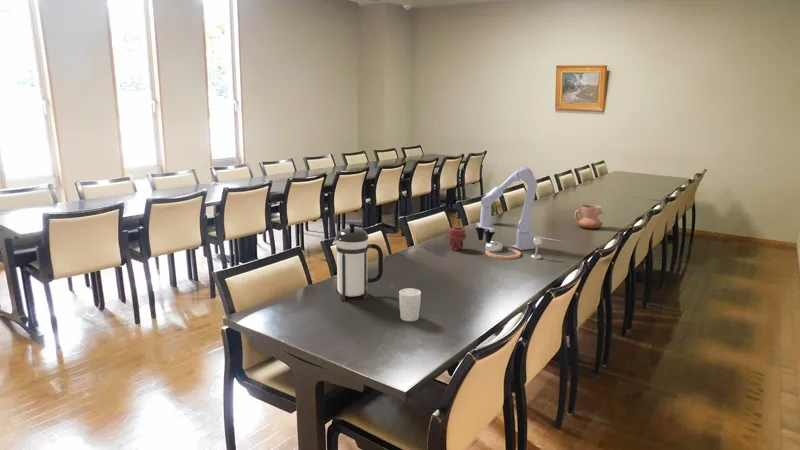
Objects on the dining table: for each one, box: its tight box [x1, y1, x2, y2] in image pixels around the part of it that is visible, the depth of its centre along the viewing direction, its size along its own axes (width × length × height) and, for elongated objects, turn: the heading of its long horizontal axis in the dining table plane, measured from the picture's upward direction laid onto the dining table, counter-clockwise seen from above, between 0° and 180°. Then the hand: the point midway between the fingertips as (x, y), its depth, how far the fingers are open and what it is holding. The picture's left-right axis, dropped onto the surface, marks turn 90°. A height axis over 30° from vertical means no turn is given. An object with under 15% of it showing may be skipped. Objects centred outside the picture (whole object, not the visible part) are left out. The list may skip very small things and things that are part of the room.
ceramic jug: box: [574, 204, 605, 230], centre depth 330 cm, size 18×14×14 cm
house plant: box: [479, 200, 499, 226], centre depth 336 cm, size 14×14×16 cm
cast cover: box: [485, 239, 504, 253], centre depth 276 cm, size 9×9×5 cm
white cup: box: [398, 287, 422, 322], centre depth 186 cm, size 8×8×10 cm
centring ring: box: [484, 247, 522, 260], centre depth 268 cm, size 18×14×1 cm
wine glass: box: [530, 236, 543, 260], centre depth 262 cm, size 5×5×11 cm
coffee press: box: [332, 222, 384, 302], centre depth 205 cm, size 17×16×30 cm
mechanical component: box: [446, 225, 467, 252], centre depth 275 cm, size 12×10×10 cm
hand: (484, 241), depth 285 cm, fingers open, 7 cm apart
